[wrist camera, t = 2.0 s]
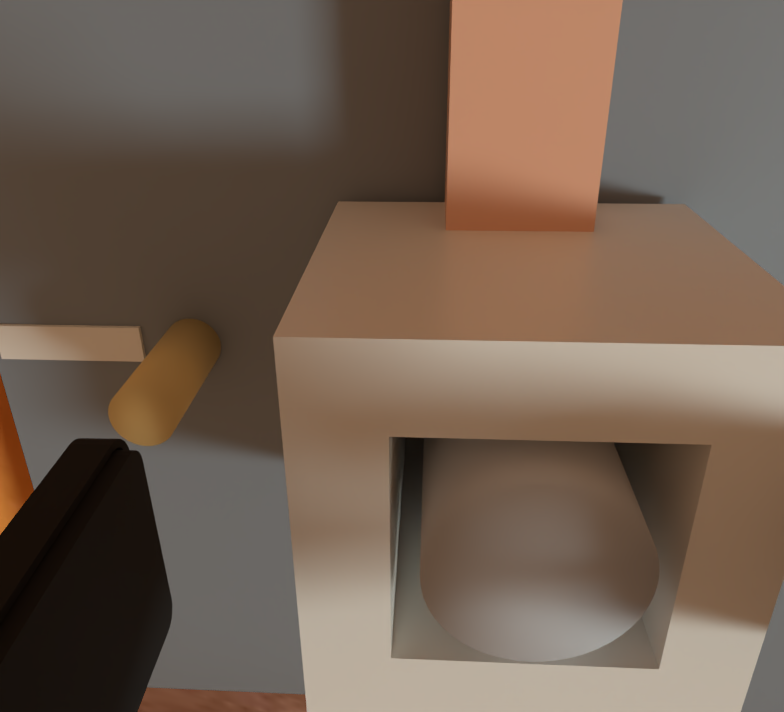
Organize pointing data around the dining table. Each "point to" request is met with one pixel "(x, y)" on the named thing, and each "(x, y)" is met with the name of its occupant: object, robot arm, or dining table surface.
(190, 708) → the dining table surface
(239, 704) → the dining table surface
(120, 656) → the robot arm
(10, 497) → the dining table surface
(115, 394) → the board
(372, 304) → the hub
